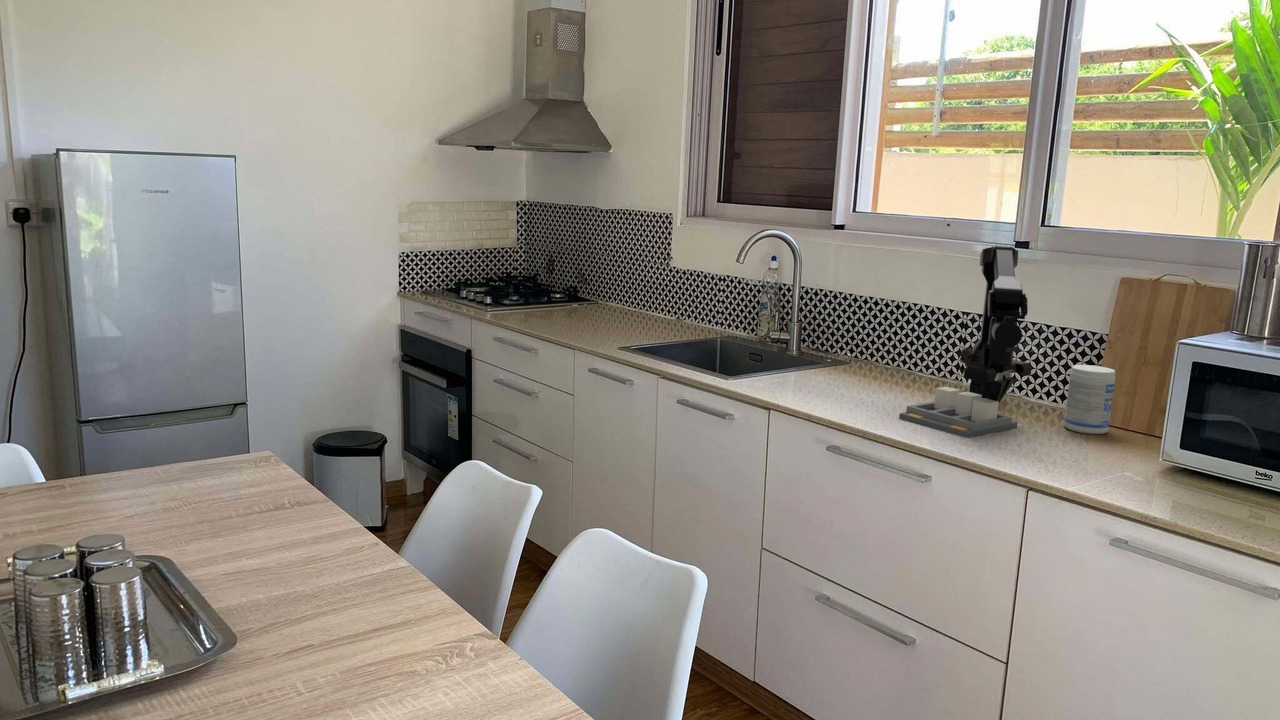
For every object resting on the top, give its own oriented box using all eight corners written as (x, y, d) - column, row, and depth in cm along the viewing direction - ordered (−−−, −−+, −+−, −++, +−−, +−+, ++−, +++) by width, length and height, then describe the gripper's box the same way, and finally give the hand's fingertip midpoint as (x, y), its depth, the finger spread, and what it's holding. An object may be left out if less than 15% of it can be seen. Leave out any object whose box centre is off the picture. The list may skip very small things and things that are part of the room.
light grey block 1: (965, 411, 228) (967, 391, 227) (979, 415, 225) (981, 395, 224) (954, 413, 226) (957, 393, 225) (969, 417, 223) (971, 396, 222)
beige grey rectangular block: (943, 406, 233) (946, 386, 232) (957, 409, 230) (960, 389, 229) (933, 408, 231) (935, 388, 230) (947, 411, 227) (949, 391, 227)
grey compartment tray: (948, 409, 237) (949, 398, 236) (1017, 427, 222) (1018, 415, 221) (899, 418, 226) (900, 407, 225) (968, 437, 211) (969, 426, 210)
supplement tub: (1110, 437, 216) (1119, 374, 213) (1065, 432, 219) (1074, 370, 216) (1104, 427, 225) (1112, 366, 222) (1061, 422, 228) (1068, 362, 225)
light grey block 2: (981, 418, 222) (983, 397, 221) (996, 422, 219) (998, 401, 218) (970, 420, 220) (973, 399, 219) (986, 424, 217) (988, 403, 216)
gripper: (993, 332, 230) (986, 395, 232) (946, 338, 218) (939, 404, 221) (1036, 340, 221) (1028, 405, 224) (989, 346, 210) (982, 414, 213)
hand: (993, 406), depth 221 cm, fingers closed
